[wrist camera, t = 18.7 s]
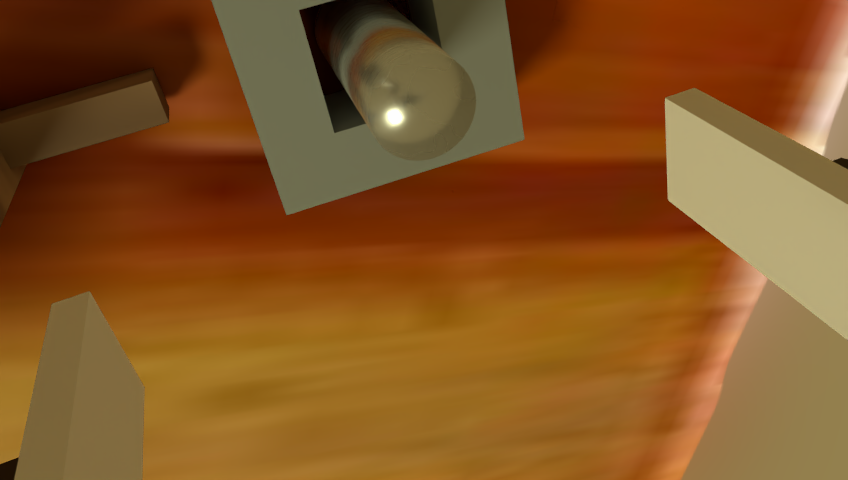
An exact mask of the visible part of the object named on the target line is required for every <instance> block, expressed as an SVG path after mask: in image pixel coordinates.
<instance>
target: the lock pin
mask: <svg viewBox="0 0 848 480" xmlns="http://www.w3.org/2000/svg"><path fill="white" fill-rule="evenodd" d="M168 122H169V106H168V104H167V101H166V99H165V96H164V94H163V91H162V89H161V87H160V84H159V82H158V79H157V77H156V74H155V72H154V69H153V68H150V69H147V70H143V71H140V72H136V73H133V74H129V75H126V76H122V77H119V78H115V79H112V80H108V81H105V82H101V83H97V84H94V85H90V86H87V87H83V88H80V89H76V90H73V91H69V92H66V93H62V94H59V95H55V96H52V97H48V98H45V99H41V100H38V101H34V102H31V103H27V104H23V105H20V106H16V107H13V108H9V109H6V110H2V111H0V226H1V224H2V222H3V219H4V217H5V215H6V212H7V210H8V208H9V205H10V203H11V201H12V198H13V196H14V193H15V191H16V189H17V186H18V184H19V182H20V179H21V177H22V175H23V172H24V170H25V167H26V165H27V164H29V163H32V162H35V161H39V160H42V159H46V158H49V157H52V156H56V155H59V154H63V153H66V152H69V151H73V150H76V149H80V148H83V147H86V146H90V145H93V144H97V143H100V142H103V141H107V140H110V139H114V138H117V137H120V136H124V135H127V134H131V133H134V132H137V131H141V130H144V129H148V128H151V127H154V126H158V125H161V124H164V123H168Z"/></svg>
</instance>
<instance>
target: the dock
mask: <svg viewBox="0 0 848 480" xmlns="http://www.w3.org/2000/svg"><path fill="white" fill-rule="evenodd" d="M330 1H333V0H212V3H213V6H214V9H215V12H216V15H217V17H218V20H219V23H220V26H221V29H222V32H223V35H224V38H225V40H226V43H227V46H228V49H229V52H230V55H231V58H232V60H233V63H234V66H235V69H236V72H237V75H238V78H239V81H240V83H241V86H242V89H243V92H244V95H245V98H246V101H247V103H248V106H249V109H250V112H251V115H252V118H253V121H254V123H255V126H256V129H257V132H258V135H259V138H260V141H261V144H262V146H263V149H264V152H265V155H266V158H267V161H268V164H269V166H270V169H271V172H272V175H273V178H274V181H275V184H276V187H277V189H278V192H279V195H280V198H281V201H282V204H283V207H284V209H285V212H286V215H289V214H292V213H295V212H298V211H301V210H305V209H308V208H311V207H314V206H317V205H320V204H323V203H327V202H330V201H333V200H336V199H339V198H342V197H345V196H349V195H352V194H355V193H358V192H361V191H364V190H367V189H371V188H374V187H377V186H380V185H383V184H386V183H389V182H393V181H396V180H399V179H402V178H405V177H408V176H411V175H415V174H418V173H421V172H424V171H427V170H430V169H433V168H437V167H440V166H443V165H446V164H449V163H452V162H455V161H459V160H462V159H465V158H468V157H471V156H474V155H477V154H481V153H484V152H487V151H490V150H493V149H496V148H499V147H503V146H506V145H509V144H512V143H515V142H518V141H521V140H524V133H523V126H522V119H521V111H520V104H519V97H518V90H517V83H516V76H515V69H514V62H513V55H512V47H511V40H510V33H509V26H508V19H507V12H506V5H505V0H407V1H408V5H409V10H410V15H411V20H412V23H413V24H414V25H415V26H416V27H417V28H419V29H420V30H421V31H422V32H423V33H424V34H425V35H427V36H428V37H429V38H430V39H431V40H432V41H433V42H435V43H436V44H437V45H438V46H439V47H440V48H441V49H443V50H444V51H445V52H446V53H447V54H448V55H449V56H451V57H452V58H453V59H454V60H455V61H456V62H457V63H459V64H460V65H461V66H462V67H463V68H464V69H465V71H466V72H467V73H468V75H469V77H470V78H471V80H472V83H473V85H474V89H475V94H476V109H475V114H474V118H473V121H472V123H471V126H470V128H469V130H468V131H467V133H466V134H465V136H464V137H463V139H462V140H461V141H460V142H459V143H458V144H457V145H456V146H455V147H453V148H452V149H451V150H449V151H448V152H446V153H444V154H442V155H441V156H438V157H435V158H432V159H428V160H422V161H412V160H405V159H402V158H399V157H396V156H394V155H392V154H391V153H389V152H388V151H386V150H385V149H384V148H383V147H382V146H381V145H380V144H379V143H378V141H377V140H376V139H375V137H374V135H373V134H372V132H371V131H370V129H369V127H368V126H367V124H366V123H365V121H364V119H363V118H362V116H361V114H360V113H359V111H358V110H357V108H356V106H355V105H354V103H353V102H352V100H351V98H350V97H349V95H348V93H347V92H346V90H342V91H339V92H336V93H332V94H329V95H326V96H324V95H323V92H322V89H321V85H320V82H319V78H318V75H317V71H316V68H315V64H314V61H313V57H312V54H311V50H310V47H309V44H308V40H307V37H306V33H305V30H304V26H303V23H302V19H301V16H300V12H299V10H301V9H305V8H308V7H312V6H315V5H319V4H322V3H326V2H330Z"/></svg>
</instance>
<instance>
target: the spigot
mask: <svg viewBox="0 0 848 480" xmlns="http://www.w3.org/2000/svg"><path fill="white" fill-rule="evenodd" d="M315 36H316V41H317V43H318V46H319V48H320V50H321V51H322V53H323V55H324V56H325V58H326V60H327V61H328V63H329V64H330V66H331V68H332V69H333V71H334V72H335V74H336V76H337V77H338V79H339V81H340V82H341V84H342V85H343V87H344V89H345V90H346V92H347V93H348V95H349V97H350V98H351V100H352V102H353V103H354V105H355V106H356V108H357V110H358V111H359V113H360V114H361V116H362V118H363V119H364V121H365V123H366V124H367V126H368V127H369V129H370V131H371V132H372V134H373V135H374V137H375V139H376V140H377V141H378V143H379V144H380V145H381V146H382V147H383V148H384V149H385V150H386V151H388V152H389V153H391V154H392V155H394V156H396V157H399V158H402V159H405V160H412V161H422V160H428V159H432V158H435V157H438V156H441V155H442V154H444V153H446V152H448V151H449V150H451V149H452V148H453V147H455V146H456V145H457V144H458V143H459V142H460V141H461V140H462V139H463V137H464V136H465V134H466V133H467V131H468V130H469V128H470V126H471V123H472V121H473V118H474V114H475V109H476V94H475V89H474V85H473V83H472V80H471V78H470V77H469V75H468V73H467V72H466V71H465V69H464V68H463V67H462V66H461V65H460V64H459V63H457V62H456V61H455V60H454V59H453V58H452V57H451V56H449V55H448V54H447V53H446V52H445V51H444V50H443V49H441V48H440V47H439V46H438V45H437V44H436V43H435V42H433V41H432V40H431V39H430V38H429V37H428V36H427V35H425V34H424V33H423V32H422V31H421V30H420V29H419V28H417V27H416V26H415V25H414V24H413V23H412V22H411V21H409V20H408V19H407V18H406V17H405V16H404V15H403V14H401V13H400V12H399V11H398V10H397V9H396V8H395V7H393V6H392V5H391V4H390V3H389V2H388V1H387V0H333V1H330V2H326V3H323V4H322V6H321V7H320V9H319V11H318V14H317V17H316V21H315Z"/></svg>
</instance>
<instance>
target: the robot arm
mask: <svg viewBox="0 0 848 480" xmlns="http://www.w3.org/2000/svg"><path fill="white" fill-rule="evenodd" d="M665 119H666V151H667V183H668V200H669V201H670V202H671V203H672V204H674V205H675V206H676V207H678V208H679V209H680V210H681V211H683V212H684V213H685V214H686V215H688V216H689V217H690V218H692V219H693V220H694V221H695V222H697V223H698V224H699V225H701V226H702V227H703V228H704V229H706V230H707V231H708V232H710V233H711V234H712V235H713V236H715V237H716V238H717V239H719V240H720V241H721V242H722V243H724V244H725V245H726V246H728V247H729V248H730V249H731V250H733V251H734V252H735V253H736V254H738V255H739V256H740V257H742V258H743V259H744V260H745V261H747V262H748V263H749V264H751V265H752V266H753V267H754V268H756V269H757V270H758V271H760V272H761V273H762V274H763V275H765V276H766V277H767V278H769V279H770V280H771V281H773V282H774V283H775V284H776V285H777V286H779V287H780V288H781V289H783V290H784V291H785V292H787V293H788V294H789V295H790V296H792V297H793V298H794V299H795V300H797V301H798V302H799V303H801V304H802V305H803V306H804V307H806V308H807V309H808V310H810V311H811V312H812V313H813V314H815V315H816V316H817V317H819V318H820V319H821V320H822V321H824V322H825V323H826V324H827V325H829V326H830V327H831V328H833V329H834V330H835V331H837V332H838V333H839V334H840V335H842V336H843V337H844V338H845V339H847V340H848V159H844V158H840V159H837V160H834V161H831V160H829V159H827V158H825V157H824V156H822V155H820V154H818V153H816V152H814V151H812V150H810V149H809V148H807V147H805V146H803V145H801V144H799V143H797V142H795V141H794V140H792V139H790V138H788V137H786V136H784V135H782V134H780V133H778V132H777V131H775V130H773V129H771V128H769V127H767V126H765V125H763V124H762V123H760V122H758V121H756V120H754V119H752V118H750V117H748V116H747V115H745V114H743V113H741V112H739V111H737V110H735V109H733V108H731V107H730V106H728V105H726V104H724V103H722V102H720V101H718V100H716V99H715V98H713V97H711V96H709V95H707V94H705V93H703V92H701V91H700V90H698V89H696V88H693V89H690V90H687V91H684V92H681V93H678V94H675V95H672V96H669V97H666V98H665ZM144 388H145V387H144V386H143V384H142V382H141V380H140V379H139V377H138V375H137V373H136V372H135V370H134V368H133V366H132V365H131V363H130V361H129V359H128V358H127V356H126V354H125V352H124V350H123V349H122V347H121V345H120V343H119V342H118V340H117V338H116V336H115V335H114V333H113V331H112V329H111V328H110V326H109V324H108V322H107V321H106V319H105V317H104V315H103V314H102V312H101V310H100V308H99V307H98V305H97V303H96V301H95V300H94V298H93V296H92V294H91V293H90V291H89V292H86V293H83V294H80V295H77V296H74V297H71V298H68V299H65V300H62V301H59V302H56V303H53V304H52V305H51V310H50V315H49V319H48V324H47V329H46V333H45V338H44V343H43V347H42V352H41V357H40V361H39V366H38V371H37V375H36V380H35V385H34V389H33V394H32V399H31V403H30V408H29V413H28V417H27V422H26V427H25V431H24V436H23V441H22V445H21V450H20V455H19V458H16V459H13V460H11V461H8V462H5V463H2V464H0V480H142V467H143V427H144Z"/></svg>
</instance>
